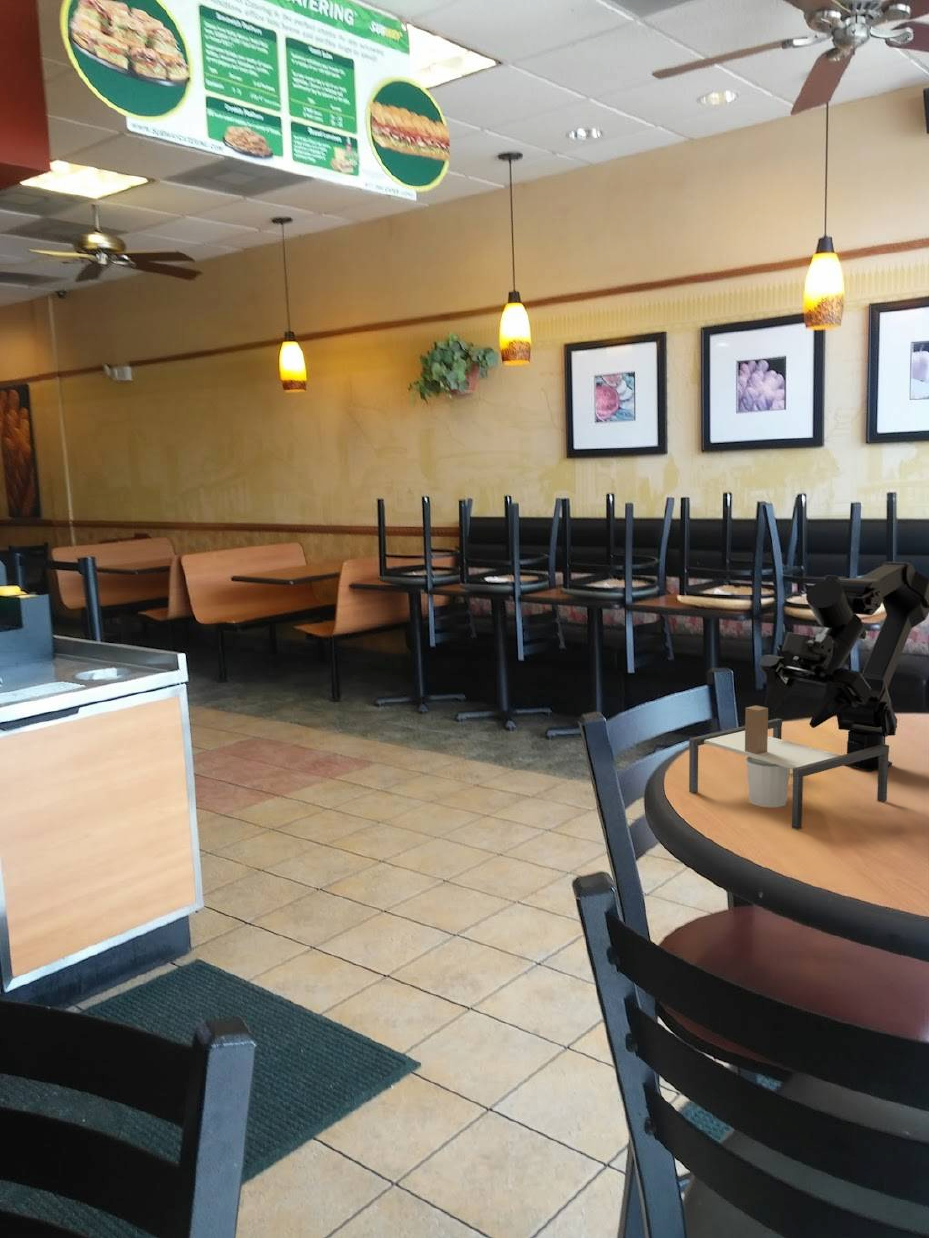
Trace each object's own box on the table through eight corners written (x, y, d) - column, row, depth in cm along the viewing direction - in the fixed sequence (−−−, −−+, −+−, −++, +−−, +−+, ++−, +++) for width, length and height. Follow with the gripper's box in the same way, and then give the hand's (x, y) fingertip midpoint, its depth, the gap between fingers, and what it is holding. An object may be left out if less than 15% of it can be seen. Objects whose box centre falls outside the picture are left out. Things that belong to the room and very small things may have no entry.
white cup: (792, 809, 157) (793, 766, 156) (747, 807, 158) (748, 764, 157) (787, 795, 163) (788, 753, 162) (744, 793, 165) (744, 752, 164)
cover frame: (776, 768, 178) (777, 718, 177) (887, 800, 160) (889, 745, 158) (688, 791, 167) (689, 738, 165) (796, 829, 148) (798, 770, 147)
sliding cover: (746, 733, 171) (746, 689, 169) (842, 759, 155) (844, 711, 153) (704, 743, 165) (704, 698, 164) (799, 771, 149) (800, 721, 148)
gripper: (766, 607, 169) (719, 681, 165) (862, 620, 154) (813, 702, 150) (796, 646, 175) (751, 719, 171) (892, 663, 159) (845, 743, 155)
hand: (787, 720), depth 162 cm, fingers open, 9 cm apart
